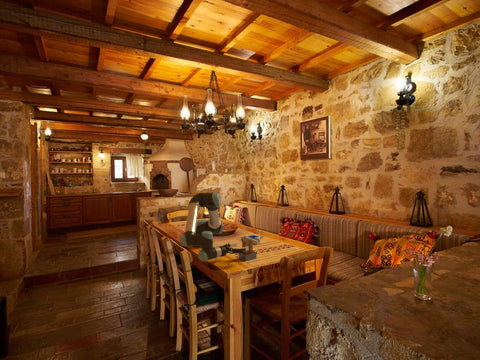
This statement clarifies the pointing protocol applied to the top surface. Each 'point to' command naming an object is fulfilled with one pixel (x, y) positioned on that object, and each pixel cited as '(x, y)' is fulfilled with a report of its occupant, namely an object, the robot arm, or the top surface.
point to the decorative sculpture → (255, 238)
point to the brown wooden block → (246, 243)
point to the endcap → (248, 256)
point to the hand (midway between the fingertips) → (242, 246)
